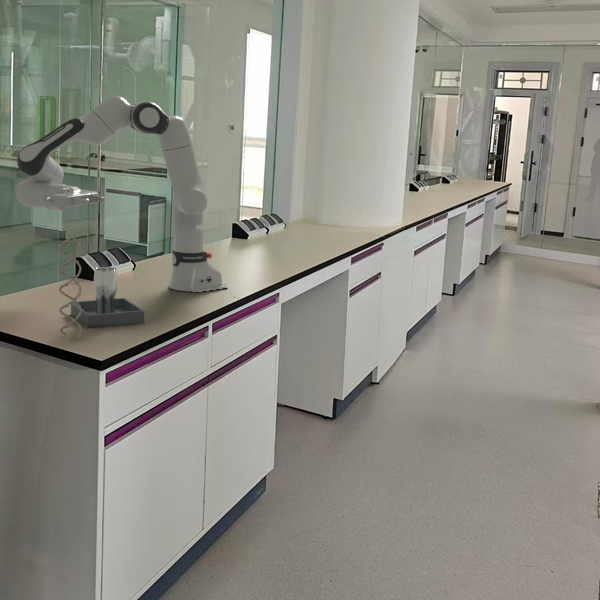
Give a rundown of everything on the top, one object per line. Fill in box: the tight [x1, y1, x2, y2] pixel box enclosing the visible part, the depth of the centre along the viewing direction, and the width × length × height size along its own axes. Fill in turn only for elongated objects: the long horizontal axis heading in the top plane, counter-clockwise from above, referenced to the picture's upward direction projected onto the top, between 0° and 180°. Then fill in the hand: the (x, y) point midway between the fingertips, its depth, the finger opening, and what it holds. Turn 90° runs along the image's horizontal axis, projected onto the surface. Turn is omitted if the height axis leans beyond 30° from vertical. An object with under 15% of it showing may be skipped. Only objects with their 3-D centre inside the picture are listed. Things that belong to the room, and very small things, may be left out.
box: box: [70, 297, 145, 329], centre depth 228 cm, size 18×18×4 cm
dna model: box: [58, 231, 83, 341], centre depth 204 cm, size 7×6×30 cm
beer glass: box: [93, 266, 118, 314], centre depth 226 cm, size 7×7×15 cm
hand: (95, 201), depth 244 cm, fingers open, 8 cm apart
